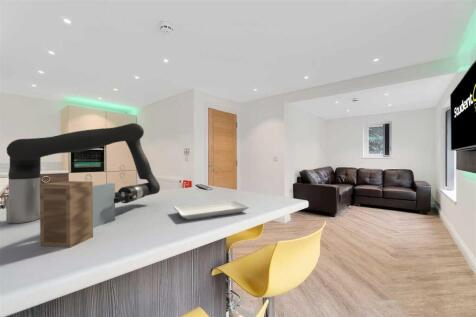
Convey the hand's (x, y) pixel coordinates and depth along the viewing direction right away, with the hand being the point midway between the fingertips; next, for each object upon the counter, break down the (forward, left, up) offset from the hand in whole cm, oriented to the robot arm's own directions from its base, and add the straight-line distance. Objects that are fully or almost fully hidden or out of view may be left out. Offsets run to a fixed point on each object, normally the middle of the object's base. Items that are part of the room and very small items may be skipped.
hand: (105, 200), depth 86 cm
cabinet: (-8, -16, -9) cm, 19 cm away
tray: (+42, -7, -9) cm, 44 cm away
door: (-1, -2, -9) cm, 9 cm away
